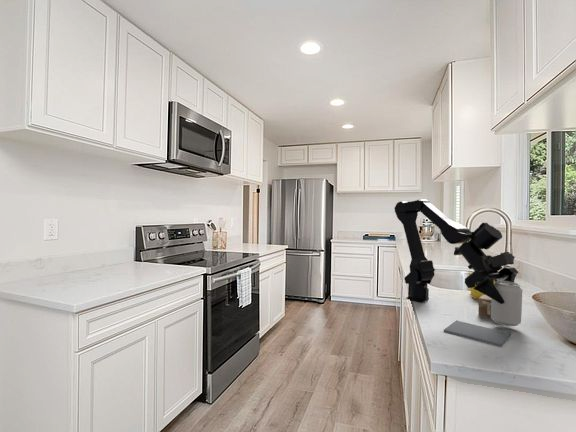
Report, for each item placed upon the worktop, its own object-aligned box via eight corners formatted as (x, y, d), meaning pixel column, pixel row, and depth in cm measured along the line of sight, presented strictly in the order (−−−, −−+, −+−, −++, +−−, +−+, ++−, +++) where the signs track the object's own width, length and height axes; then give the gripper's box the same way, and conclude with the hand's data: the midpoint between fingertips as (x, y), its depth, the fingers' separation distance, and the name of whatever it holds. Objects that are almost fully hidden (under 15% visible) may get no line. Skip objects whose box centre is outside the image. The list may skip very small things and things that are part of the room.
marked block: (478, 316, 106) (478, 298, 106) (483, 311, 111) (483, 294, 110) (499, 320, 102) (499, 301, 102) (503, 316, 106) (504, 298, 106)
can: (526, 328, 91) (528, 286, 90) (497, 325, 92) (498, 284, 92) (513, 319, 98) (515, 280, 98) (486, 317, 99) (487, 278, 99)
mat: (443, 331, 92) (443, 329, 92) (456, 322, 99) (456, 320, 99) (501, 346, 82) (501, 344, 82) (510, 335, 90) (510, 333, 90)
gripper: (475, 243, 94) (514, 290, 84) (513, 241, 102) (552, 284, 92) (450, 265, 101) (483, 310, 92) (487, 262, 109) (521, 303, 100)
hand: (511, 301), depth 94 cm, fingers closed on can, 7 cm apart
